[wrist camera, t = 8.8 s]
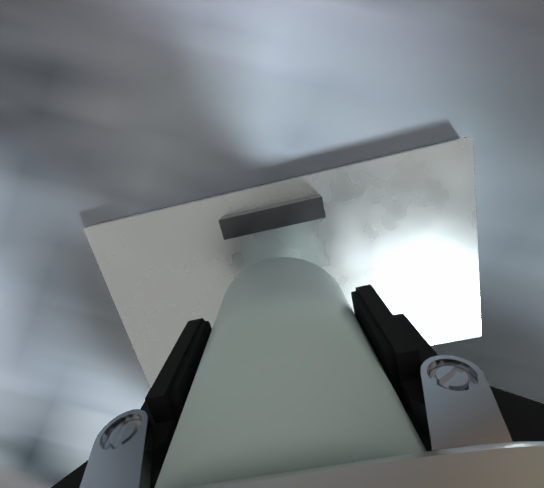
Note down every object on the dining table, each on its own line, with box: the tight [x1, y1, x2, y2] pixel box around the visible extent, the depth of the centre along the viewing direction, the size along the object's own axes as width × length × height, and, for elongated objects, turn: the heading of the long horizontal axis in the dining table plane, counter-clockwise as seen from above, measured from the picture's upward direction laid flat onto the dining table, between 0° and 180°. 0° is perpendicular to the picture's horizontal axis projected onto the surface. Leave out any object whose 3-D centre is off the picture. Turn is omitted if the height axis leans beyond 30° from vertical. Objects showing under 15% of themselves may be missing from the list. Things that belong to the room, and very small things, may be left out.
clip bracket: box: [83, 136, 482, 389], centre depth 16 cm, size 20×11×2 cm, turn 103°
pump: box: [155, 257, 427, 488], centre depth 8 cm, size 6×6×10 cm
